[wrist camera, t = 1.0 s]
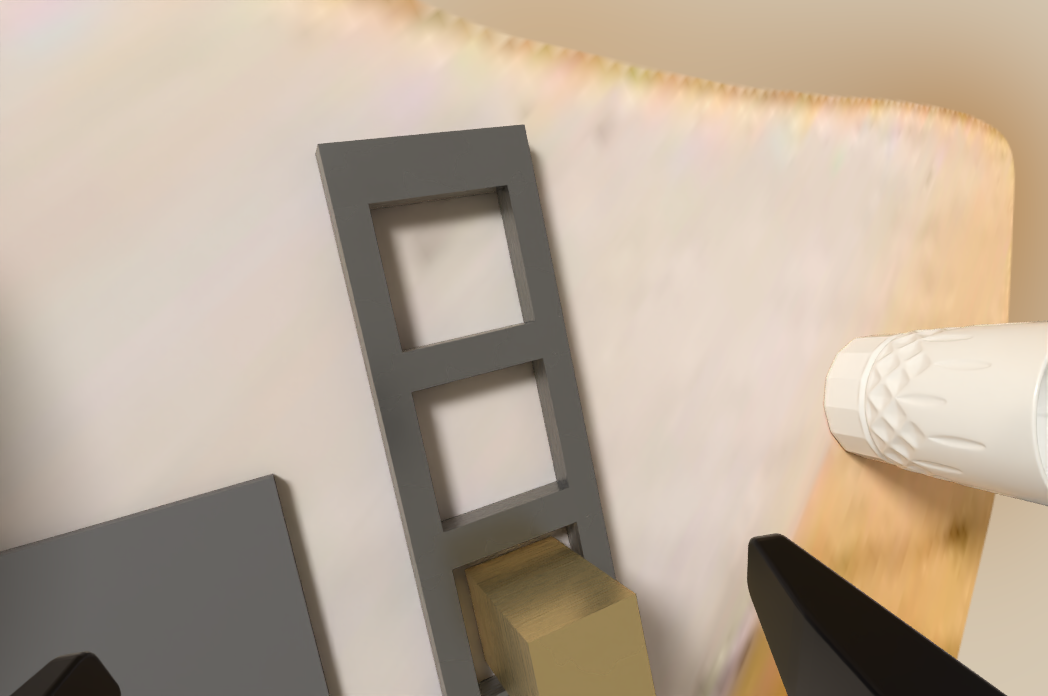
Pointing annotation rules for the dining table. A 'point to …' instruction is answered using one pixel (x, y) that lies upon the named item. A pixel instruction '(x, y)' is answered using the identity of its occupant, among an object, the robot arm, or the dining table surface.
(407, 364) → the grey slotted frame
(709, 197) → the dining table surface
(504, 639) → the mustard yellow block
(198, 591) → the rubber pad
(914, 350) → the white cup
